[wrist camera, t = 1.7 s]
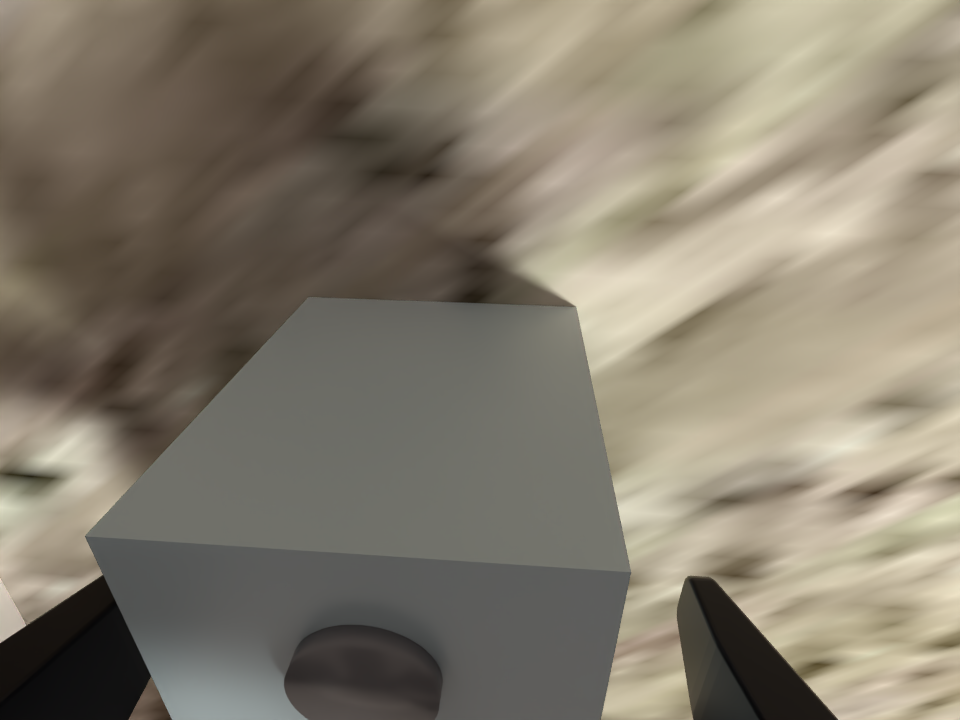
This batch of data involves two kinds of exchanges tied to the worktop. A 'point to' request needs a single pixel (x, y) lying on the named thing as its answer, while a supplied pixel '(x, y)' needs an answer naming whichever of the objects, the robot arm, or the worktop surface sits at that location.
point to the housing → (382, 525)
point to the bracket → (8, 615)
